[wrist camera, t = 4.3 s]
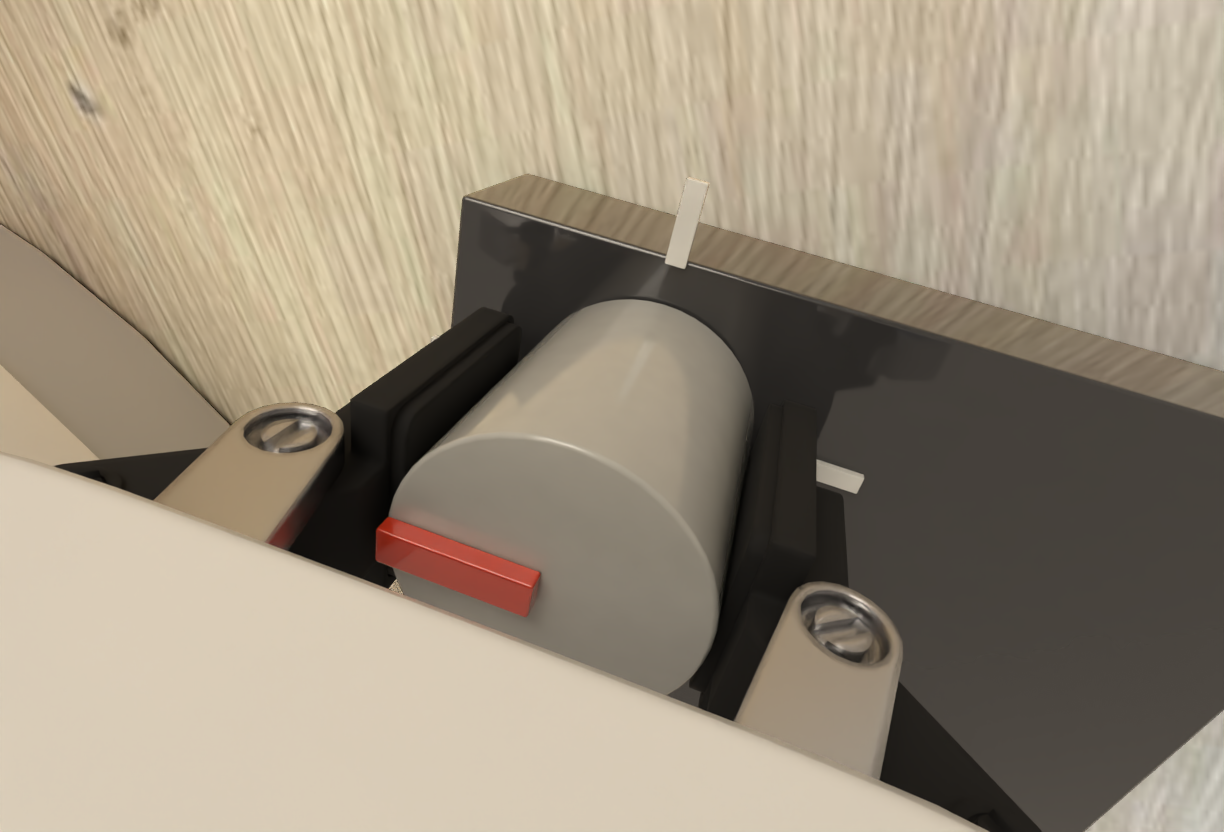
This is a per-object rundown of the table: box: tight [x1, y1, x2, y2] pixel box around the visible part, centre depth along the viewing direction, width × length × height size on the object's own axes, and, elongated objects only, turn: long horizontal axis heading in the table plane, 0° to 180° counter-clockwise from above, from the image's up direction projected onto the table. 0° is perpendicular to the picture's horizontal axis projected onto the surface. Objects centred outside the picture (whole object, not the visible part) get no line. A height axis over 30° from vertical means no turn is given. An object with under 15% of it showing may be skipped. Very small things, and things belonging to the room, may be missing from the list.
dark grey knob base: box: [431, 174, 1224, 832], centre depth 15 cm, size 16×14×3 cm
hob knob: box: [375, 299, 754, 695], centre depth 10 cm, size 4×4×5 cm
